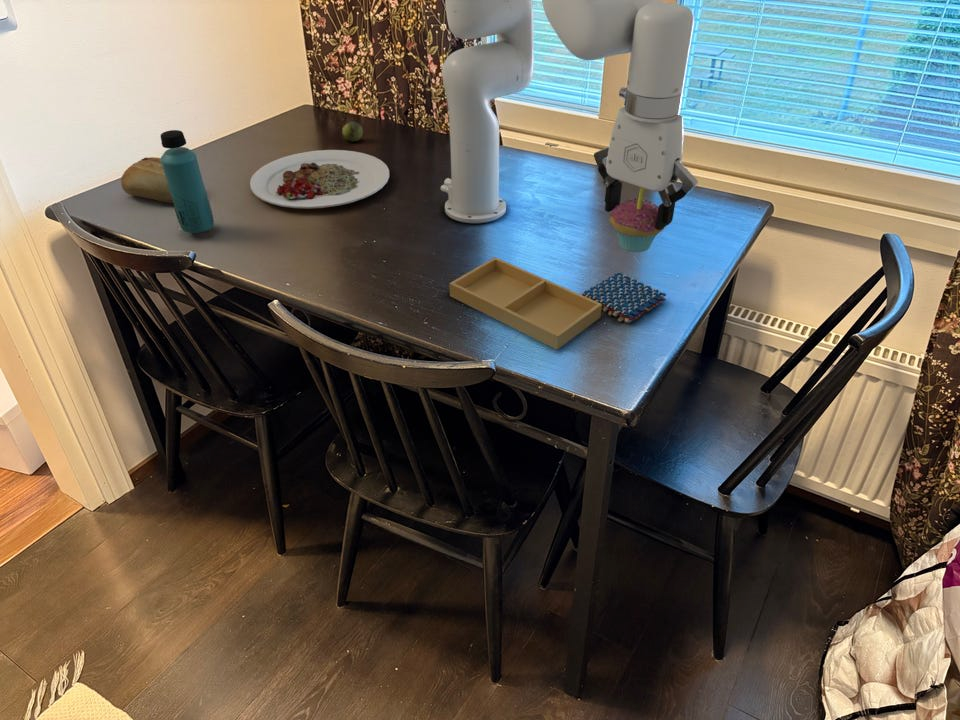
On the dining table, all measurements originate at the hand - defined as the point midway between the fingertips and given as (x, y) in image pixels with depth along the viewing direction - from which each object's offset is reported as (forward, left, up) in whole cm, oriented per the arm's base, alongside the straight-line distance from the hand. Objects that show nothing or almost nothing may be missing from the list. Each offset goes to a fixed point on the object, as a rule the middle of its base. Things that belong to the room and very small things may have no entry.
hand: (636, 217), depth 110 cm
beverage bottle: (-76, -34, -16) cm, 85 cm away
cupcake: (0, 0, -5) cm, 5 cm away
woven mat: (-1, 0, -16) cm, 16 cm away
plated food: (-76, -4, -16) cm, 78 cm away
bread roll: (-97, -31, -16) cm, 103 cm away
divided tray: (-12, -12, -16) cm, 23 cm away
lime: (-90, +17, -16) cm, 93 cm away
